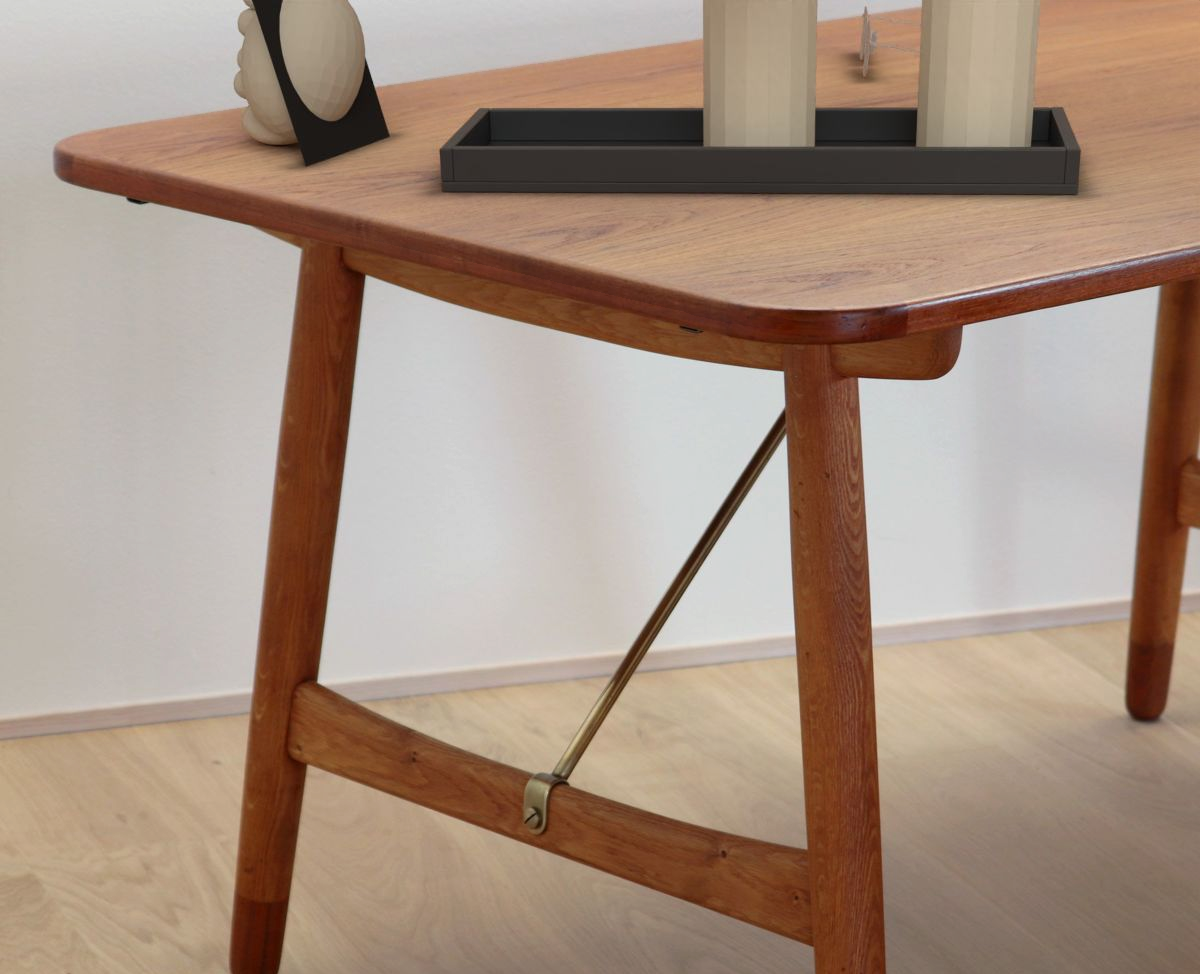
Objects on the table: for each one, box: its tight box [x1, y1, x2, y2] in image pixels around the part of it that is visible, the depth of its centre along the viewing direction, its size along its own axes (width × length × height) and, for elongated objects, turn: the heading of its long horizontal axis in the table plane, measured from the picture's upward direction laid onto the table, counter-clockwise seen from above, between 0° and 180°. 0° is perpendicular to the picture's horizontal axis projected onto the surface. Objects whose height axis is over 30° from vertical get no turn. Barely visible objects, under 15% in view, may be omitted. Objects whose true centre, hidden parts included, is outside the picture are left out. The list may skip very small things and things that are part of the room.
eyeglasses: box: [859, 5, 921, 78], centre depth 150 cm, size 14×8×4 cm, turn 175°
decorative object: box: [232, 0, 391, 167], centre depth 127 cm, size 13×10×10 cm
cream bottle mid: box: [702, 0, 819, 147], centre depth 116 cm, size 7×7×16 cm
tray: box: [438, 106, 1082, 195], centre depth 119 cm, size 38×13×3 cm, turn 82°
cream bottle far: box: [916, 0, 1042, 147], centre depth 114 cm, size 7×7×16 cm
